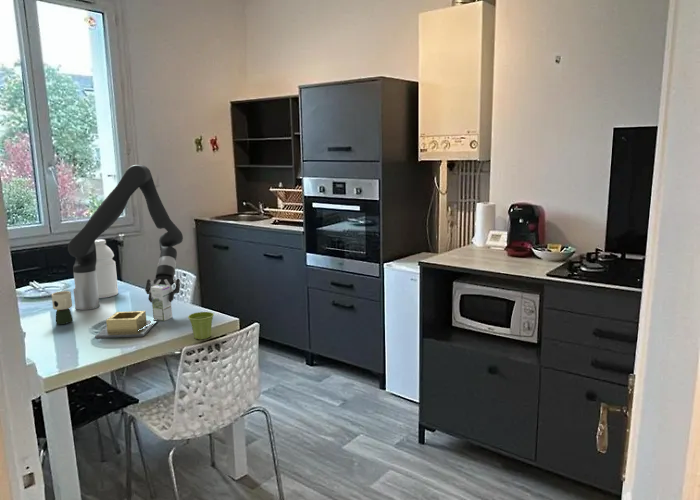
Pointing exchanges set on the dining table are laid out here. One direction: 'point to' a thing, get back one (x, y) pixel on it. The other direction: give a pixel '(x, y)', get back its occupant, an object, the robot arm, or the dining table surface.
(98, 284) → the bottle
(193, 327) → the plant pot
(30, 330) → the dining table surface
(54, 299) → the character mug
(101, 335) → the hitch plate
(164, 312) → the syrup box
